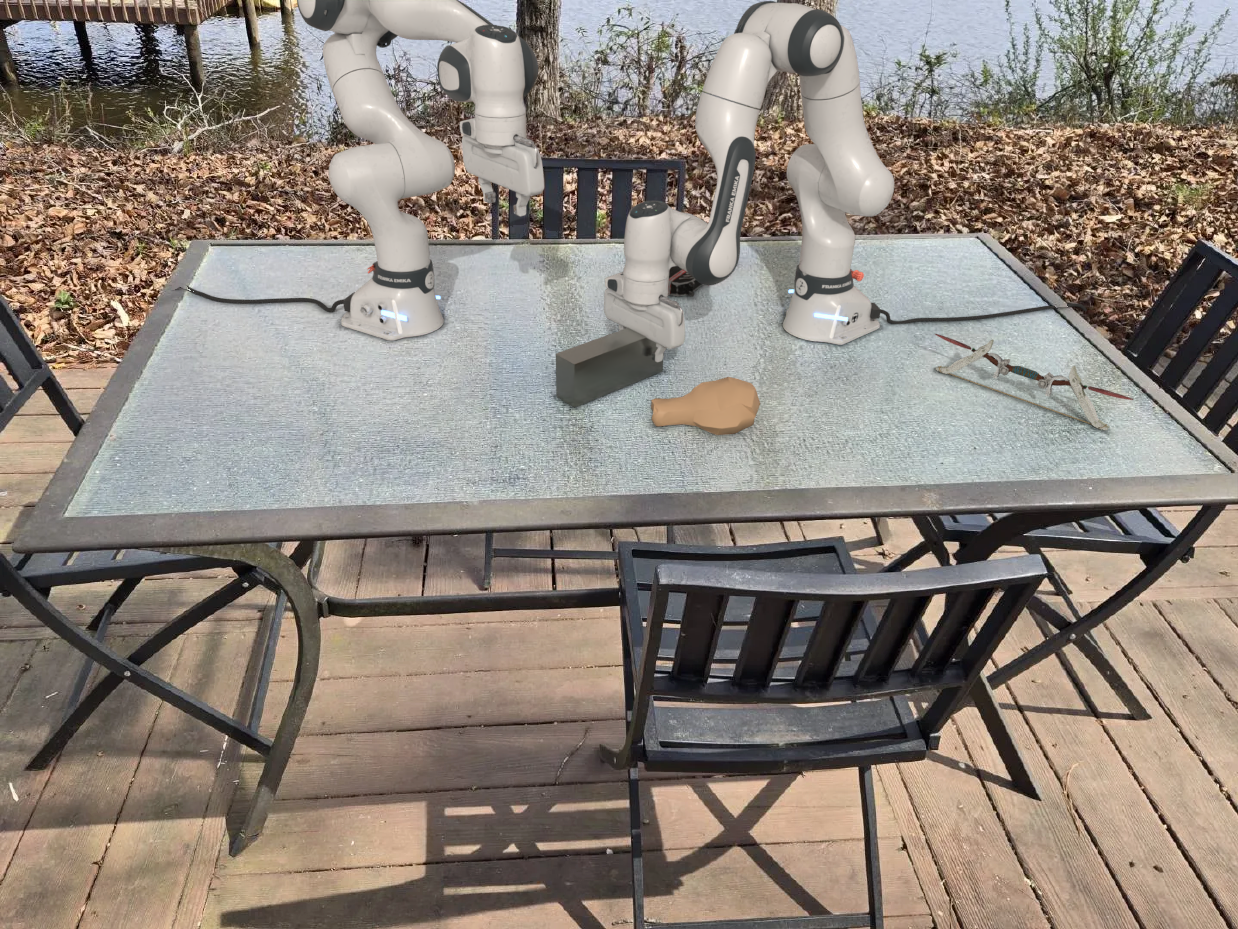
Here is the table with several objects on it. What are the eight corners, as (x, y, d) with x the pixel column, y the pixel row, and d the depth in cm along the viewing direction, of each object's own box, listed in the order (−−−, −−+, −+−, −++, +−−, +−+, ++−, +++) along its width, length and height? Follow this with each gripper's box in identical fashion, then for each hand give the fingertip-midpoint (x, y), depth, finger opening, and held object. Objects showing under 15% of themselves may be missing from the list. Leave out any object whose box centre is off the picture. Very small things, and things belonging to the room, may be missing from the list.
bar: (574, 408, 166) (574, 364, 161) (556, 397, 170) (555, 353, 164) (662, 371, 180) (665, 329, 174) (644, 362, 183) (646, 320, 178)
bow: (1121, 432, 163) (1140, 385, 158) (1118, 436, 162) (1137, 389, 157) (928, 364, 185) (939, 321, 179) (924, 367, 184) (935, 323, 178)
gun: (618, 266, 215) (688, 285, 207) (677, 229, 237) (743, 245, 229) (618, 283, 218) (687, 302, 210) (676, 245, 240) (741, 261, 232)
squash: (764, 441, 158) (764, 403, 152) (653, 450, 160) (649, 412, 153) (757, 403, 166) (757, 365, 160) (652, 411, 167) (648, 374, 161)
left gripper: (552, 139, 149) (553, 219, 156) (483, 116, 161) (487, 192, 169) (522, 144, 145) (524, 226, 153) (453, 121, 158) (459, 198, 165)
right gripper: (695, 300, 165) (689, 366, 172) (622, 269, 177) (620, 331, 185) (671, 309, 161) (667, 376, 169) (599, 276, 174) (597, 339, 181)
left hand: (504, 208), depth 161 cm, fingers open, 8 cm apart
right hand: (642, 352), depth 177 cm, fingers open, 7 cm apart
